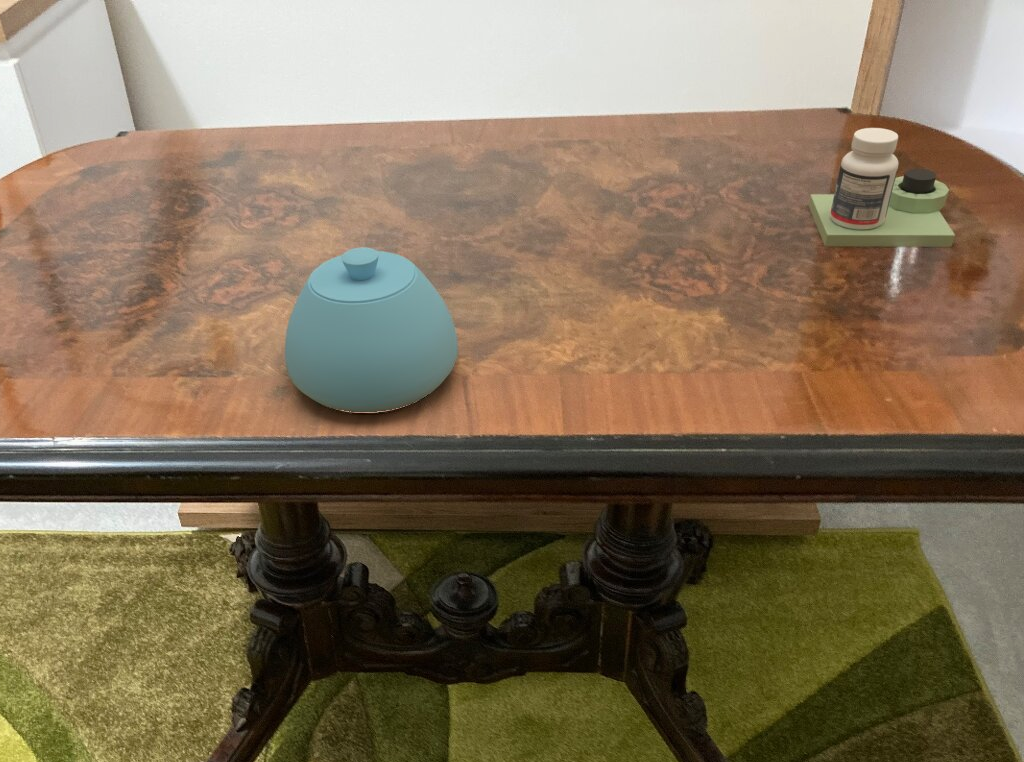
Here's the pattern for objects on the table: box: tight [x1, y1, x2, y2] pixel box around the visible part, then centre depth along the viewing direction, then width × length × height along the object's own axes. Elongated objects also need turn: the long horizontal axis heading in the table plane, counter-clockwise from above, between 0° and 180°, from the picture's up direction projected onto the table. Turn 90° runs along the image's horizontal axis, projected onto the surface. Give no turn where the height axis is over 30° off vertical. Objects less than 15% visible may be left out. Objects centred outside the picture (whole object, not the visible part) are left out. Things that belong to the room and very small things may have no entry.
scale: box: [807, 175, 956, 248], centre depth 96 cm, size 13×11×3 cm
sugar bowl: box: [284, 246, 459, 412], centre depth 78 cm, size 15×15×12 cm
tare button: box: [901, 168, 937, 194], centre depth 96 cm, size 3×3×2 cm
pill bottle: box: [830, 127, 899, 230], centre depth 92 cm, size 5×5×9 cm
